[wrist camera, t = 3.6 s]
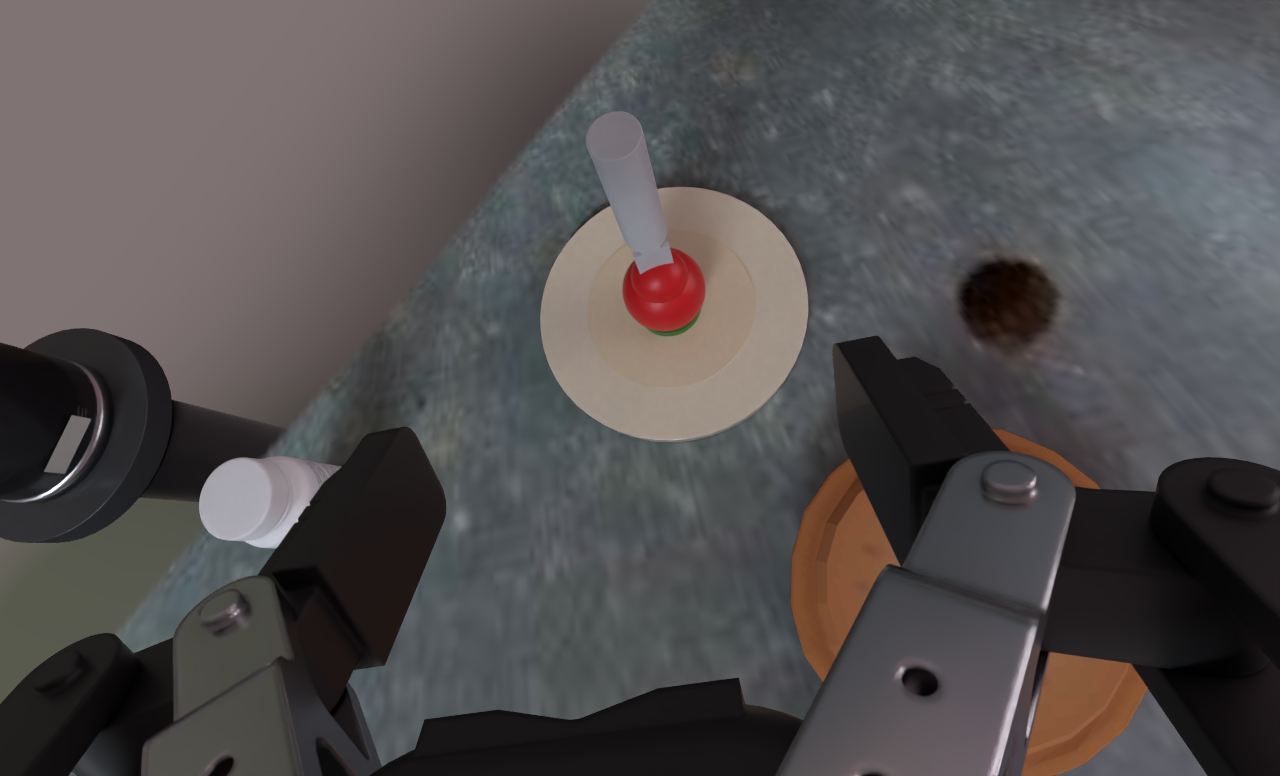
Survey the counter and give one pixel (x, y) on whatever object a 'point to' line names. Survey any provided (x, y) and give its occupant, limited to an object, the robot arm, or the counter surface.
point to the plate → (694, 360)
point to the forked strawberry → (644, 229)
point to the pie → (858, 550)
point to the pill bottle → (260, 497)
